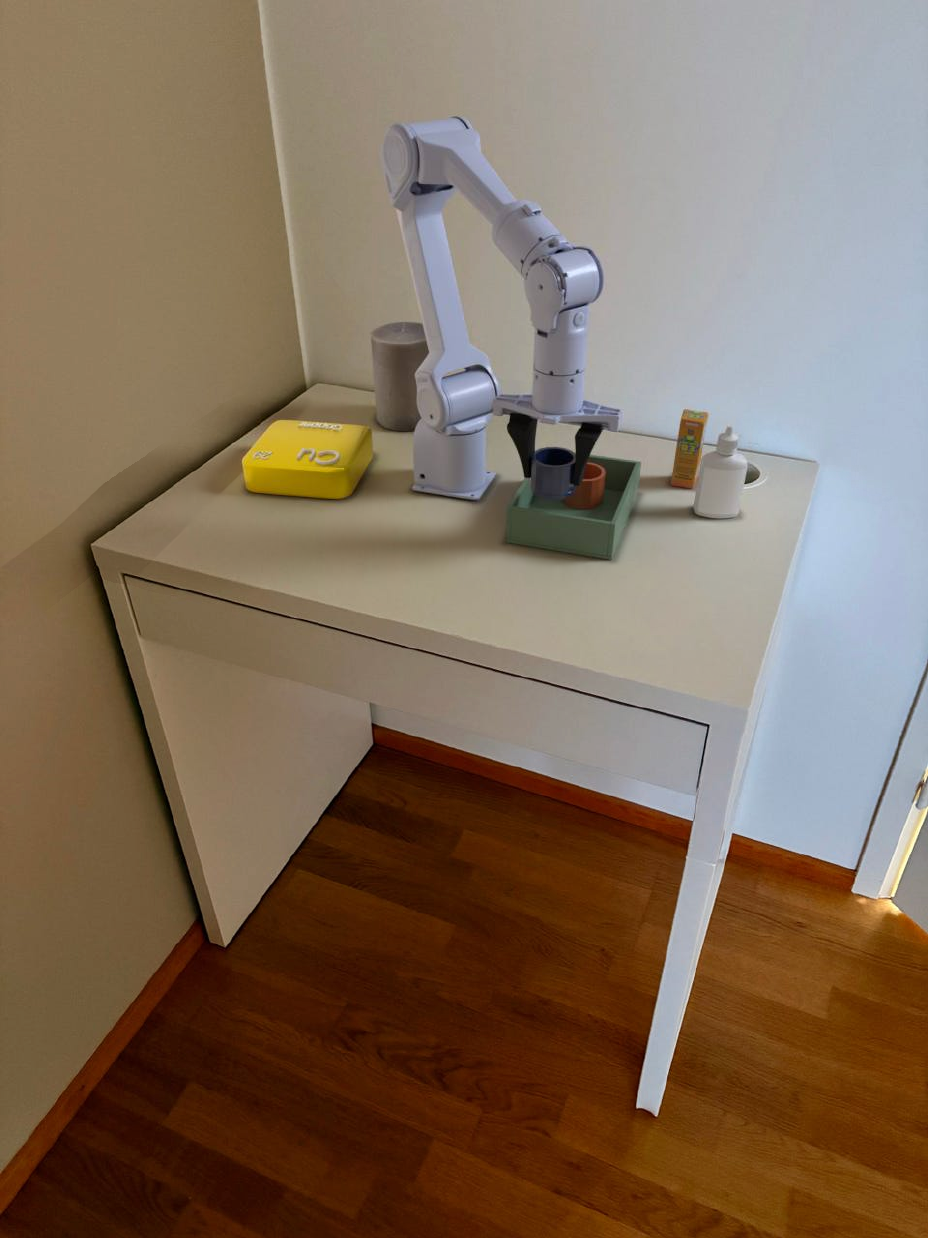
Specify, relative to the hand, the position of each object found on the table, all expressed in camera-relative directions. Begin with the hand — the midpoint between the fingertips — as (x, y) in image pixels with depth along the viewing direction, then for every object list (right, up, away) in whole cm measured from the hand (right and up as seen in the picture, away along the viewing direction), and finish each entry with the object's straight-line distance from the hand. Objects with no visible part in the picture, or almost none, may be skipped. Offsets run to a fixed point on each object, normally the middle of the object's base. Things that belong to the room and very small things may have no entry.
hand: (553, 478), depth 108 cm
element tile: (-32, +4, +20) cm, 38 cm away
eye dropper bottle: (+22, -3, +10) cm, 24 cm away
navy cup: (0, -1, +1) cm, 1 cm away
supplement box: (+19, +2, +17) cm, 26 cm away
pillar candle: (-20, +14, +35) cm, 42 cm away
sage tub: (+4, -4, +9) cm, 11 cm away
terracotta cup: (+5, -1, +12) cm, 13 cm away
